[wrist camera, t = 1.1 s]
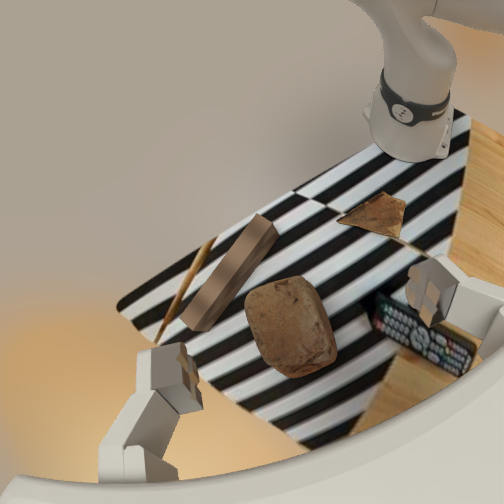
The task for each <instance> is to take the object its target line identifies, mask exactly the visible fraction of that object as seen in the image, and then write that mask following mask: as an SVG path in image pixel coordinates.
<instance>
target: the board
mask: <svg viewBox="0 0 504 504" xmlns="http://www.w3.org/2000/svg"><path fill="white" fill-rule="evenodd" d="M279 236H280V235H279V234H278V232H277V230H276V228H275V227H274V225H273V223H272V222H270V221H268V220H267V219H265V218H264V217H262V216H261V215H259V214H256V215H255V216H254V218H253V219H252V220H251V222H250V223H249V224H248V226H247V227H246V228H245V230H244V231H243V232H242V234H241V235H240V236H239V238H238V239H237V240H236V242H235V243H234V244H233V246H232V247H231V248H230V250H229V251H228V252H227V254H226V255H225V256H224V258H223V259H222V260H221V262H220V263H219V264H218V266H217V267H216V268H215V270H214V271H213V273H212V274H211V275H210V277H209V278H208V279H207V281H206V282H205V283H204V285H203V286H202V287H201V289H200V290H199V292H198V293H197V294H196V296H195V297H194V298H193V300H192V301H191V302H190V304H189V305H188V307H187V308H186V309H185V311H184V312H183V313H182V315H181V316H180V319H181V320H182V321H183V322H184V323H185V324H186V325H187V326H188V327H189V328H190V329H191V330H193V331H209V330H210V329H211V327H212V326H213V325H214V323H215V322H216V321H217V319H218V318H219V317H220V315H221V314H222V313H223V311H224V310H225V309H226V307H227V306H228V305H229V303H230V302H231V301H232V299H233V298H234V297H235V295H236V294H237V293H238V291H239V290H240V289H241V287H242V286H243V285H244V283H245V282H246V281H247V279H248V278H249V277H250V275H251V274H252V273H253V271H254V270H255V269H256V267H257V266H258V265H259V263H260V262H261V260H262V259H263V258H264V256H265V255H266V254H267V252H268V251H269V250H270V248H271V247H272V246H273V244H274V243H275V241H276V240H277V239H278V237H279Z"/></svg>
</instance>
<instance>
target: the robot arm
mask: <svg viewBox="0 0 504 504" xmlns="http://www.w3.org/2000/svg"><path fill="white" fill-rule="evenodd" d="M350 1H351V2H353V3H354V4H356V5H357V6H359V7H360V8H361V9H362V10H363V11H365V12H366V13H367V14H368V15H369V16H370V17H371V19H372V20H373V21H374V23H375V24H376V26H377V27H378V29H379V31H380V33H381V35H382V39H383V45H384V68H383V70H382V73H381V76H380V84H378V86H377V87H376V88H374V89H373V92H372V98H371V103H370V104H369V105H368V106H366V107H365V108H364V111H363V115H364V117H365V118H366V120H367V121H368V122H369V125H370V130H371V134H372V136H373V139H374V140H375V142H376V143H377V145H378V146H379V147H380V148H381V149H382V150H383V151H384V152H386V153H387V154H389V155H390V156H392V157H394V158H396V159H399V160H402V161H406V162H422V161H426V160H428V159H431V158H439V159H444V158H446V157H447V156H448V152H449V146H450V139H451V131H452V122H453V112H454V107H453V106H452V104H451V103H450V102H449V100H450V86H451V83H452V80H453V76H454V73H455V69H456V66H457V59H456V54H455V51H454V49H453V47H452V45H451V44H450V43H449V41H448V40H447V39H446V38H445V37H444V36H443V35H442V34H441V33H440V32H438V31H437V30H436V29H434V28H433V27H431V26H430V25H428V24H427V23H426V22H425V21H423V20H422V17H423V16H432V17H437V18H440V19H444V20H448V21H451V22H454V23H458V24H461V25H464V26H467V27H470V28H473V29H476V30H482V31H487V32H492V33H497V34H503V35H504V0H350ZM442 147H444V148H442ZM408 276H409V277H410V280H409V281H408V283H407V284H406V289H405V293H406V298H407V300H408V302H409V304H410V305H411V306H412V307H413V308H415V309H417V310H419V316H420V317H421V319H422V320H423V321H424V322H425V324H426V325H427V326H428V327H431V326H433V325H435V324H437V323H439V322H441V321H443V320H445V319H446V320H445V321H447V322H449V323H451V324H453V325H455V326H456V327H458V328H460V329H462V330H464V331H466V332H468V333H469V334H471V335H473V336H475V337H477V338H479V339H480V340H482V343H481V345H480V347H479V348H478V354H479V355H480V356H481V358H482V359H483V361H482V362H481V363H480V364H478V365H477V366H476V367H474V368H473V369H472V370H470V371H469V372H467V373H466V374H464V375H463V376H461V377H460V378H459V379H457V380H456V381H454V382H453V383H451V384H449V385H448V386H446V387H445V388H443V389H442V390H440V391H438V392H437V393H435V394H433V395H432V396H430V397H428V398H427V399H425V400H423V401H422V402H420V403H418V404H416V405H414V406H413V407H411V408H409V409H407V410H405V411H403V412H402V413H400V414H398V415H396V416H394V417H392V418H390V419H388V420H386V421H384V422H382V423H379V424H377V425H375V426H373V427H371V428H369V429H366V430H364V431H362V432H360V433H357V434H355V435H353V436H350V437H348V438H345V439H343V440H340V441H338V442H335V443H333V444H330V445H327V446H324V447H322V448H319V449H316V450H313V451H310V452H308V453H304V454H301V455H298V456H295V457H291V458H288V459H285V460H281V461H278V462H274V463H270V464H266V465H262V466H258V467H255V468H250V469H246V470H241V471H237V472H231V473H226V474H220V475H215V476H209V477H202V478H195V479H187V480H179V477H178V471H177V468H175V467H174V466H173V465H171V464H169V463H167V462H166V461H164V460H162V458H163V456H164V453H165V451H166V449H167V446H168V444H169V441H170V439H171V437H172V434H173V432H174V430H175V427H176V425H177V423H178V420H179V418H180V415H181V414H186V413H190V412H194V411H199V410H203V403H202V397H201V392H200V391H199V389H198V388H197V385H198V383H199V375H198V371H197V367H196V365H195V362H194V360H193V358H192V357H191V356H190V355H188V354H187V348H186V347H185V345H184V343H183V342H178V343H174V344H169V345H165V346H160V347H156V348H152V349H147V350H142V351H139V352H138V355H137V369H136V393H134V394H132V395H131V396H130V398H129V399H128V401H127V402H126V404H125V405H124V407H123V409H122V410H121V412H120V413H119V415H118V417H117V418H116V420H115V422H114V423H113V425H112V426H111V428H110V429H109V431H108V432H107V434H106V436H105V437H104V439H103V440H102V442H101V444H100V445H99V454H98V455H99V456H98V460H99V461H98V476H99V483H84V482H71V481H61V480H53V479H45V478H39V477H33V476H27V475H17V476H16V477H14V478H13V480H12V481H11V482H10V483H9V485H8V486H7V487H6V489H5V490H4V492H3V493H2V495H1V496H0V504H504V288H503V287H500V286H498V285H495V284H492V283H489V282H486V281H483V280H480V279H478V278H475V277H470V278H469V277H468V276H467V275H466V274H465V273H464V272H463V271H462V270H461V269H460V268H459V267H458V266H456V265H455V264H454V263H453V262H452V261H451V260H450V259H449V258H448V257H447V256H445V255H444V254H439V255H437V256H435V257H432V258H430V259H427V260H425V261H423V262H420V263H418V264H416V265H413V266H411V268H410V269H409V273H408Z"/></svg>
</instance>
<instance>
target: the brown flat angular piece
mask: <svg viewBox="0 0 504 504" xmlns="http://www.w3.org/2000/svg"><path fill="white" fill-rule="evenodd" d="M405 206H406V203H405V201H403V200H400V199H397V198H394V197H391V196H390V195H388V194H386V193H385V192H384V191H383V192H382V193H380V194H378V195H376V196H375V197H374V198H372V199H370V200H368V201H367V202H365V203H363V204H361V205H360V206H358V207H357V208H355V209H354V210H352V211H351V212H350V213H348V214H347V215H345V216H343V217H341V218H339V219H338V220H336V221H337V222H339V223H340V224H346V225H351V226H358V227H361V228H363V229H366V230H371V231H374V232H378V233H381V234H383V235H388V236H389V235H390V236H392V237H396V238H399V235H400V230H401V227H402V221H403V214H404V209H405Z"/></svg>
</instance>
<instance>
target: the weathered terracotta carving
mask: <svg viewBox="0 0 504 504" xmlns="http://www.w3.org/2000/svg"><path fill="white" fill-rule="evenodd" d="M245 312H246V317H247V320H248V323H249V325H250V328H251V330H252V333H253V336H254V339H255V342H256V345H257V347H258V349H259V351H260V353H261V355H262V357H263V359H264V361H265V362H266V363H267V364H268V365H270V366H272V367H274V368H275V369H276V370H277V371H279V372H280V373H282V374H284V375H285V376H287V377H289V378H298V377H302V376H305V375H307V374H310V373H312V372H314V371H316V370H318V369H321V368H322V367H325V366H327V365H329V364H331V363H333V362H334V361H335V359H336V357H337V347H336V343H335V338H334V335H333V331H332V328H331V325H330V322H329V319H328V317H327V314H326V311H325V309H324V306H323V304H322V302H321V299H320V297H319V295H318V294H317V292H316V290H315V288H314V287H313V285H312V284H311V283H310V282H308V281H307V280H305V279H304V278H303V277H302V276H294V277H291V278H287V279H283V280H279V281H275V282H271V283H268V284H265V285H263V286H260V287H258V288H256V289H254V290H252V291H250V292H249V294H248V295H247V297H246V300H245Z"/></svg>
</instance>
